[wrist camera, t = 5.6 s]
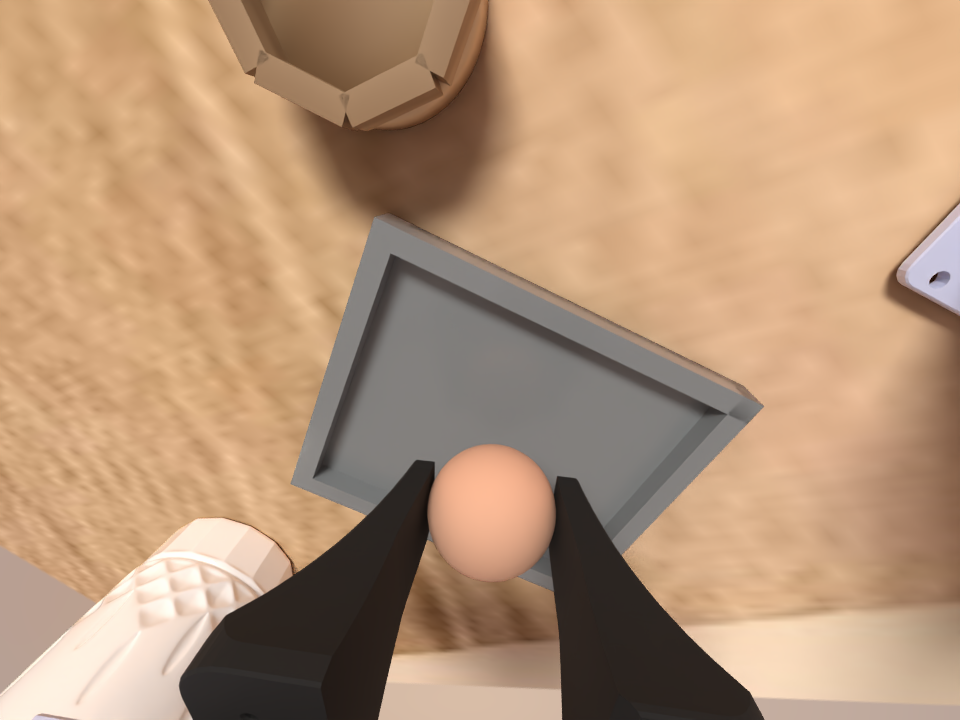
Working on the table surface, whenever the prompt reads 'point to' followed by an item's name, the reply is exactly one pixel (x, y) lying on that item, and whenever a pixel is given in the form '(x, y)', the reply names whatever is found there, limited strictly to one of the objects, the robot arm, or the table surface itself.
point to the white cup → (149, 628)
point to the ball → (491, 512)
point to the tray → (505, 388)
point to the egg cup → (358, 54)
